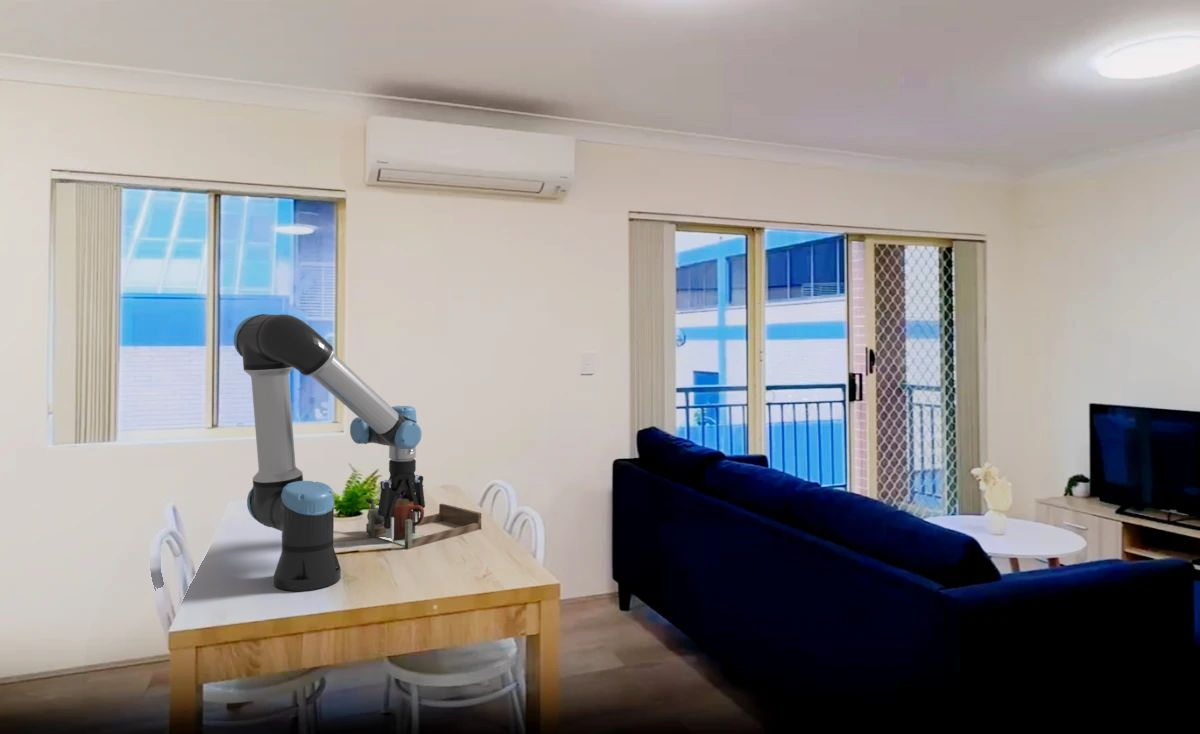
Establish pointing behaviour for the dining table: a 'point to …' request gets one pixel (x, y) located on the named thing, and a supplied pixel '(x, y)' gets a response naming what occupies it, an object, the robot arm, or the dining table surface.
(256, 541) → the dining table surface
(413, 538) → the tray
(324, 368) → the robot arm
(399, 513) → the mug
